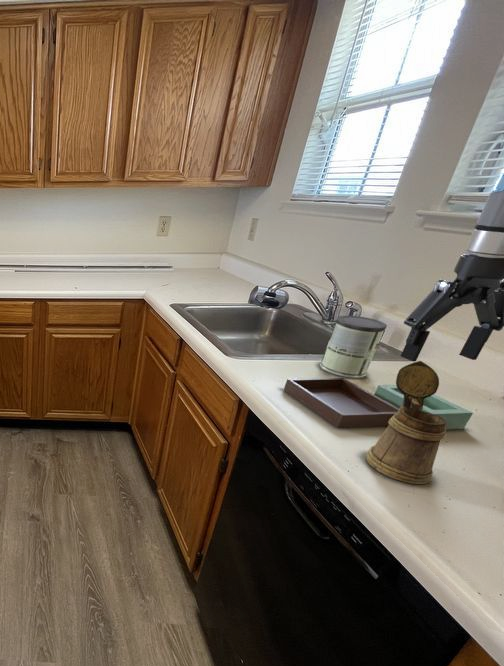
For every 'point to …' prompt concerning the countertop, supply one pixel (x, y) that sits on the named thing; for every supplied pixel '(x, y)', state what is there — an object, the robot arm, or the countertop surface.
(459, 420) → the frame
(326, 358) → the coffee can
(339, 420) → the tray
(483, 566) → the countertop surface
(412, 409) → the wooden mug
